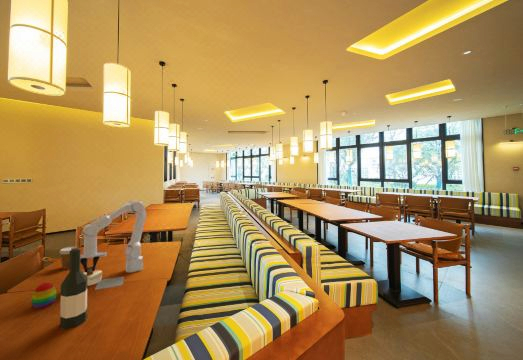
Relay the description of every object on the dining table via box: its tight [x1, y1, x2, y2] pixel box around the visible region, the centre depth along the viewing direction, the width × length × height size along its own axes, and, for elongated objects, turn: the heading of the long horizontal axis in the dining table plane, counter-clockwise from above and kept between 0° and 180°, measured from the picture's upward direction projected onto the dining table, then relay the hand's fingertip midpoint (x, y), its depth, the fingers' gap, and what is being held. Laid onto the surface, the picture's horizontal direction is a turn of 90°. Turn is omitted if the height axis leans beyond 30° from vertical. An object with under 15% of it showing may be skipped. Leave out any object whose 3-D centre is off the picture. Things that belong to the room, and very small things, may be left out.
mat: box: [94, 275, 125, 291], centre depth 121 cm, size 12×12×1 cm
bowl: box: [87, 274, 103, 287], centre depth 122 cm, size 10×10×4 cm
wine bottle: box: [59, 246, 88, 330], centre depth 89 cm, size 8×8×30 cm
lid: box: [83, 266, 103, 280], centre depth 121 cm, size 11×11×4 cm
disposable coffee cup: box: [58, 246, 76, 270], centre depth 142 cm, size 10×10×12 cm
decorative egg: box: [31, 282, 58, 309], centre depth 101 cm, size 8×8×10 cm
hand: (90, 271), depth 122 cm, fingers closed on lid, 3 cm apart
